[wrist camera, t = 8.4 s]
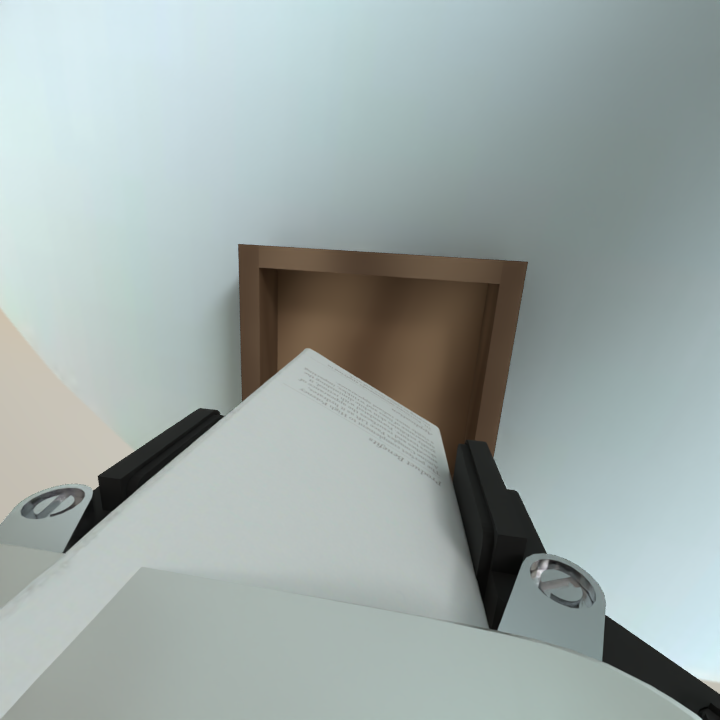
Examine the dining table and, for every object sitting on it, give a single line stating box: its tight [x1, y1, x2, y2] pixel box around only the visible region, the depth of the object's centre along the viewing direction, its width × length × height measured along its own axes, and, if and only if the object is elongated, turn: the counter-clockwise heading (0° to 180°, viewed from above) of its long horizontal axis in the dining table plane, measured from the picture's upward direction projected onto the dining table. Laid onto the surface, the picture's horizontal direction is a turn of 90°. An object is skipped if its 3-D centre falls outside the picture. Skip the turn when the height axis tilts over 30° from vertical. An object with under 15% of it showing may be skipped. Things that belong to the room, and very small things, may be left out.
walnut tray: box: [238, 244, 528, 482], centre depth 20 cm, size 13×13×4 cm
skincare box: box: [0, 348, 489, 719], centre depth 8 cm, size 6×4×12 cm
